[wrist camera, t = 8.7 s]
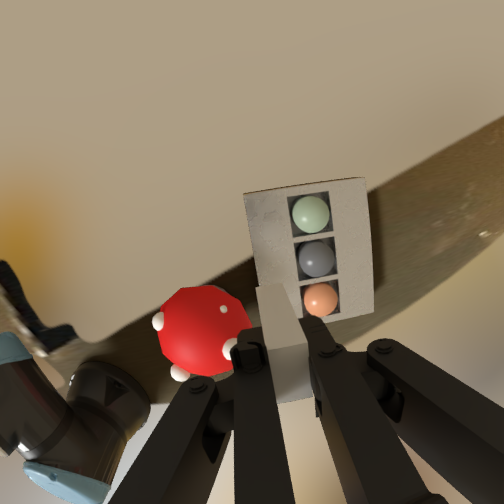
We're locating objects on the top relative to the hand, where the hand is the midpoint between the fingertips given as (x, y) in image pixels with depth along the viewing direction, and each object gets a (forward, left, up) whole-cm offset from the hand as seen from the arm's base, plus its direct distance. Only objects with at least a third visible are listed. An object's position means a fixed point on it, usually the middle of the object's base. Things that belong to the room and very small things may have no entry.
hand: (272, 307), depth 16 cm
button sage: (+6, +2, -18) cm, 19 cm away
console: (+6, -3, -20) cm, 21 cm away
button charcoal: (+6, -3, -18) cm, 20 cm away
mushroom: (-8, -8, -20) cm, 23 cm away
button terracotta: (+6, -8, -18) cm, 21 cm away
